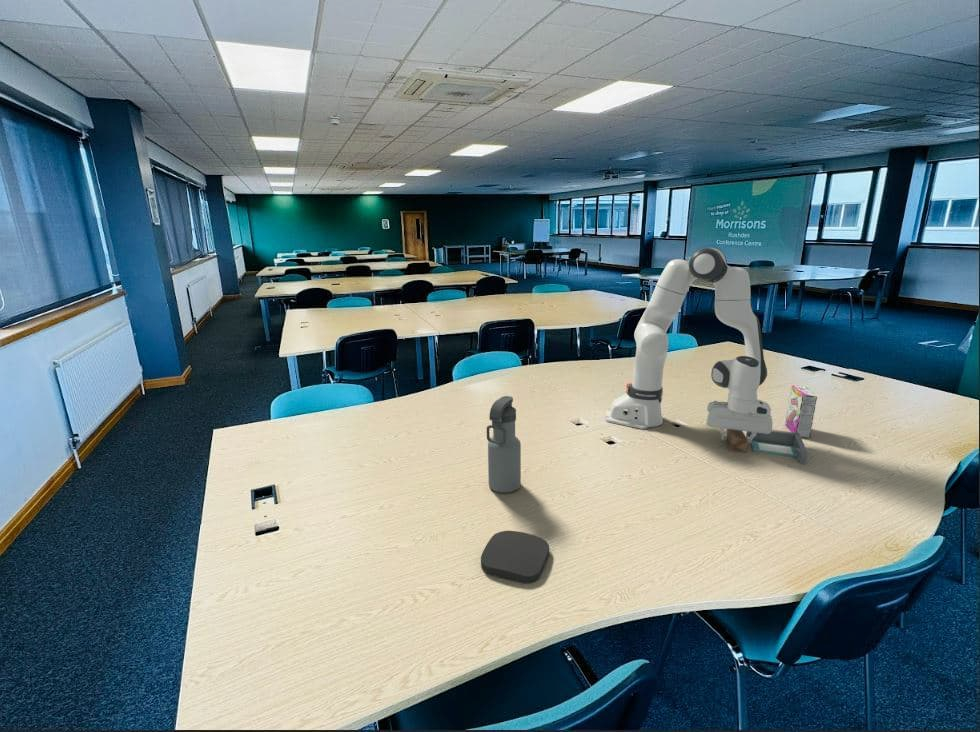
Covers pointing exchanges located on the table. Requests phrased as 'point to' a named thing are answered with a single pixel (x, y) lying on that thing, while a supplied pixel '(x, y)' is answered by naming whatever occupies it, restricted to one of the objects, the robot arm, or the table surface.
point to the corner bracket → (780, 437)
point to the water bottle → (503, 448)
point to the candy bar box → (801, 410)
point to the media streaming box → (515, 556)
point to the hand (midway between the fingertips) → (736, 440)
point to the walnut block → (736, 440)
